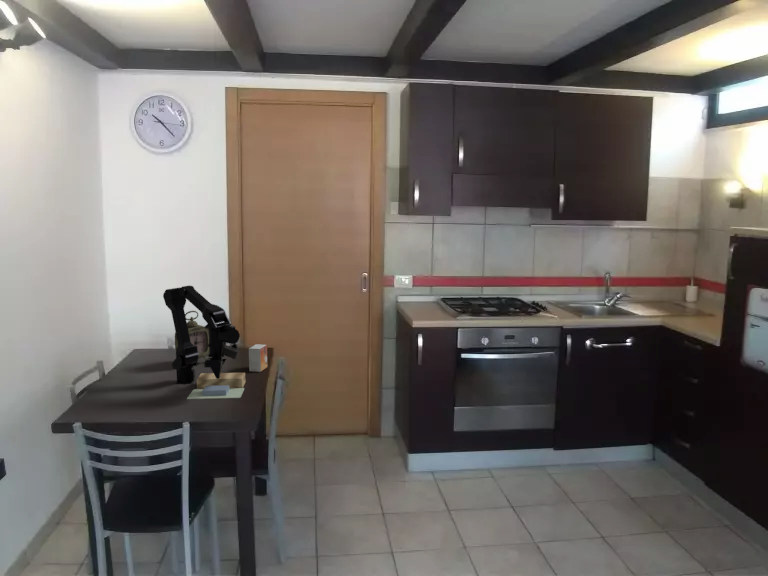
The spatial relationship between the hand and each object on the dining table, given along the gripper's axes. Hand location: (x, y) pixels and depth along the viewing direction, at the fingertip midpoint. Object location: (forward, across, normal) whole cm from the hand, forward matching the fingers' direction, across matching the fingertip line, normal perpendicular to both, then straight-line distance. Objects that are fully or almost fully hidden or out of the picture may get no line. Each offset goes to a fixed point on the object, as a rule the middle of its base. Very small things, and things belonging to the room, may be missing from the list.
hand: (218, 378), depth 234 cm
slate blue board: (+3, -4, 0) cm, 5 cm away
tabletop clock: (+5, +38, +19) cm, 43 cm away
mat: (+5, -4, 0) cm, 6 cm away
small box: (+5, +28, -12) cm, 31 cm away
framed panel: (+5, +6, 0) cm, 8 cm away
